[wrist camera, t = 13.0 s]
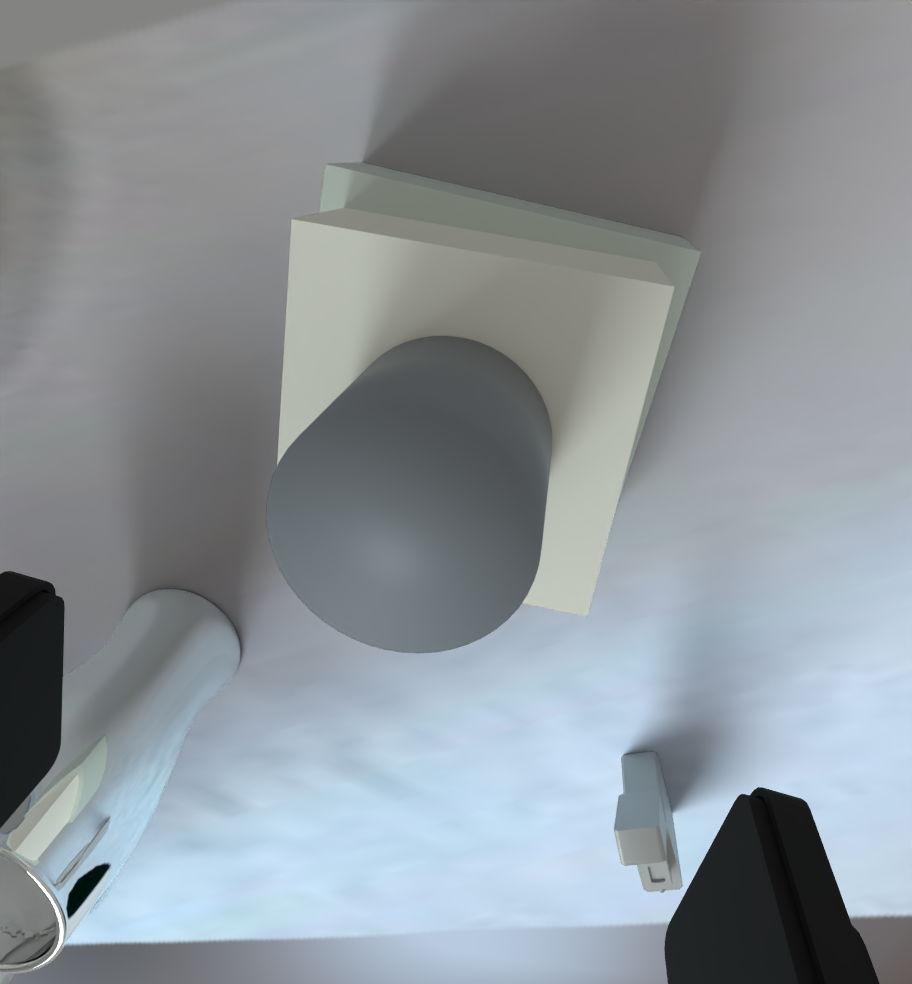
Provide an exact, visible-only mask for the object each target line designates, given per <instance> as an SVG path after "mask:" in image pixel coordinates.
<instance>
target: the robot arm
mask: <svg viewBox="0 0 912 984" xmlns="http://www.w3.org/2000/svg"><path fill="white" fill-rule="evenodd" d="M63 645H64V601H63V599H62V598H61V597H59V596H56V594H55V588H54V586H53V584H51V583H49V582H47V581H43V580H40V579H36V578H33V577H29V576H26V575H22V574H19V573H15V572H12V571H8V572H4V573H2V574H0V828H1V827H2V826H3V825H4V824H5V822H6V821H7V820H8V819H9V818H10V817H11V815H12V814H13V813H14V812H15V811H16V810H17V808H18V807H19V806H20V805H21V804H22V803H23V801H24V800H25V799H26V798H27V797H28V796H29V794H30V793H31V792H32V791H33V790H34V789H35V787H36V786H37V785H38V784H39V783H40V781H41V780H42V779H43V778H44V777H45V776H46V774H47V773H48V772H49V771H50V769H51V768H52V766H53V765H54V763H55V761H56V759H57V756H58V754H59V751H60V747H61V725H62V685H63ZM665 961H666V969H667V978H668V984H879V981H878V978H877V976H876V973H875V970H874V968H873V965H872V962H871V959H870V957H869V954H868V951H867V949H866V946H865V944H864V942H863V940H862V938H861V936H860V934H859V932H858V931H857V930H856V929H855V928H854V927H853V926H852V925H851V922H850V919H849V916H848V913H847V910H846V908H845V905H844V902H843V899H842V897H841V894H840V891H839V888H838V885H837V883H836V880H835V877H834V874H833V872H832V869H831V866H830V863H829V860H828V858H827V855H826V852H825V849H824V847H823V844H822V841H821V838H820V836H819V833H818V830H817V827H816V824H815V822H814V819H813V816H812V813H811V811H810V808H809V806H808V804H807V803H806V802H805V801H804V800H803V799H800V798H797V797H793V796H790V795H786V794H783V793H779V792H776V791H772V790H769V789H765V788H759V787H758V788H757V789H755V790H754V791H753V792H752V793H751V795H750V796H749V795H745V794H741V795H740V796H738V798H737V799H736V800H735V802H734V804H733V806H732V808H731V810H730V811H729V813H728V815H727V817H726V819H725V821H724V823H723V824H722V826H721V828H720V830H719V832H718V834H717V836H716V837H715V839H714V841H713V843H712V845H711V847H710V849H709V850H708V852H707V854H706V856H705V858H704V860H703V862H702V863H701V865H700V867H699V869H698V871H697V873H696V875H695V876H694V878H693V880H692V882H691V884H690V886H689V888H688V889H687V891H686V893H685V895H684V897H683V899H682V901H681V902H680V904H679V906H678V908H677V910H676V912H675V914H674V915H673V917H672V919H671V921H670V923H669V926H668V929H667V932H666V938H665ZM13 975H14V973H0V984H8V982H9V981H10V979H11V978H12V976H13Z"/></svg>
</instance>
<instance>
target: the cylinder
mask: <svg viewBox="0 0 912 984" xmlns="http://www.w3.org/2000/svg"><path fill="white" fill-rule="evenodd" d="M551 456H552V429H551V422H550V418H549V415H548V411H547V408H546V406H545V403H544V401H543V399H542V396H541V395H540V393H539V391H538V390H537V388H536V386H535V384H534V383H533V382H532V381H531V379H530V378H529V377H528V376H527V374H526V373H525V372H524V371H523V370H522V369H521V368H520V367H519V366H518V365H517V364H516V363H515V362H513V361H512V360H511V359H509V358H508V357H507V356H505V355H504V354H502V353H501V352H499V351H497V350H495V349H494V348H492V347H490V346H487V345H485V344H482V343H480V342H477V341H474V340H470V339H466V338H462V337H454V336H430V337H423V338H418V339H414V340H411V341H407V342H405V343H402V344H400V345H398V346H396V347H393V348H392V349H390V350H389V351H387V352H385V353H384V354H382V355H381V356H380V357H379V358H377V359H376V360H375V361H374V362H373V363H371V364H370V365H369V366H368V367H367V368H366V369H365V370H364V371H363V372H362V373H361V374H360V375H359V376H358V377H357V378H356V379H355V380H354V381H353V382H352V383H351V384H350V385H349V386H348V387H347V388H346V389H345V390H344V391H343V392H342V393H341V394H340V395H339V396H338V397H337V398H336V399H335V400H334V401H333V402H332V403H331V404H330V405H329V406H328V407H327V408H326V409H325V410H324V411H323V412H322V413H321V414H320V415H319V416H318V417H317V418H316V419H315V420H314V421H313V422H312V423H311V424H310V425H309V426H308V427H307V428H306V429H305V430H304V431H303V432H302V433H301V434H300V435H299V436H298V437H297V438H296V440H295V441H294V442H293V443H292V444H291V445H290V446H289V447H288V449H287V450H286V452H285V453H284V455H283V457H282V458H281V460H280V461H279V463H278V465H277V468H276V470H275V472H274V474H273V477H272V480H271V484H270V487H269V491H268V498H267V506H266V523H267V530H268V537H269V541H270V545H271V548H272V552H273V555H274V558H275V560H276V562H277V564H278V567H279V569H280V571H281V573H282V574H283V576H284V578H285V580H286V581H287V583H288V585H289V586H290V587H291V589H292V590H293V591H294V593H295V594H296V595H297V597H298V598H299V599H300V600H301V601H302V602H303V603H304V604H305V605H306V606H307V607H308V608H309V609H310V610H311V611H312V612H313V613H314V614H315V615H317V616H318V617H319V618H320V619H321V620H322V621H324V622H325V623H327V624H328V625H330V626H331V627H333V628H334V629H336V630H337V631H339V632H341V633H343V634H345V635H347V636H348V637H350V638H352V639H355V640H357V641H360V642H362V643H365V644H367V645H370V646H374V647H377V648H381V649H385V650H390V651H396V652H404V653H432V652H440V651H445V650H451V649H454V648H458V647H461V646H464V645H467V644H470V643H472V642H474V641H476V640H479V639H481V638H483V637H484V636H486V635H488V634H489V633H491V632H493V631H494V630H496V629H497V628H498V627H499V626H501V625H502V624H503V623H504V622H505V621H507V620H508V619H509V618H510V617H511V615H512V614H513V613H514V612H515V611H516V610H517V609H518V608H519V606H520V605H521V603H522V602H523V601H524V599H525V598H526V596H527V595H528V592H529V590H530V588H531V586H532V584H533V582H534V580H535V577H536V573H537V570H538V567H539V563H540V556H541V550H542V541H543V531H544V522H545V512H546V503H547V493H548V484H549V474H550V465H551Z"/></svg>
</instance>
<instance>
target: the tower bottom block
mask: <svg viewBox="0 0 912 984" xmlns="http://www.w3.org/2000/svg"><path fill="white" fill-rule="evenodd" d="M339 208H349V209H355V210H361V211H366V212H372V213H378V214H384V215H389V216H395V217H401V218H406V219H412V220H418V221H424V222H429V223H435V224H441V225H447V226H452V227H458V228H464V229H469V230H475V231H481V232H487V233H492V234H498V235H504V236H510V237H515V238H521V239H527V240H532V241H538V242H544V243H550V244H555V245H561V246H567V247H573V248H578V249H584V250H590V251H596V252H601V253H607V254H613V255H618V256H624V257H630V258H636V259H641V260H647V261H653V262H656V263H657V264H658V266H659V267H660V268H661V270H662V271H663V272H664V273H665V275H666V276H667V277H668V279H669V280H670V281H671V283H672V284H673V285H674V286H675V287H674V291H673V295H672V299H671V302H670V306H669V310H668V314H667V318H666V321H665V325H664V329H663V333H662V336H661V340H660V344H659V348H658V352H657V355H656V359H655V363H654V367H653V370H652V374H651V378H650V382H649V386H648V389H647V393H646V397H645V401H644V405H643V408H642V412H641V416H640V420H639V423H638V427H637V431H636V435H635V439H634V442H633V446H632V450H631V454H630V457H629V461H628V465H627V469H626V473H625V476H624V480H623V484H622V488H621V491H620V495H619V499H618V503H619V500H620V497H621V494H622V491H623V488H624V485H625V482H626V479H627V476H628V472H629V469H630V466H631V463H632V460H633V457H634V454H635V451H636V448H637V445H638V442H639V439H640V436H641V433H642V430H643V427H644V424H645V421H646V418H647V415H648V412H649V409H650V406H651V403H652V400H653V397H654V394H655V391H656V388H657V385H658V382H659V379H660V376H661V373H662V370H663V367H664V364H665V361H666V358H667V355H668V352H669V349H670V346H671V343H672V340H673V337H674V334H675V331H676V328H677V325H678V322H679V319H680V316H681V312H682V309H683V306H684V303H685V300H686V297H687V294H688V291H689V288H690V285H691V282H692V279H693V276H694V273H695V270H696V267H697V264H698V261H699V258H700V255H701V251H700V250H699V249H697V248H696V247H695V246H693V245H692V244H691V243H689V242H688V241H687V240H685V239H684V238H683V237H680V236H675V235H671V234H667V233H662V232H658V231H654V230H650V229H645V228H641V227H637V226H632V225H628V224H624V223H620V222H615V221H611V220H607V219H602V218H598V217H594V216H590V215H585V214H581V213H577V212H572V211H568V210H564V209H560V208H555V207H551V206H547V205H542V204H538V203H534V202H529V201H525V200H521V199H517V198H512V197H508V196H504V195H499V194H495V193H491V192H487V191H482V190H478V189H474V188H469V187H465V186H461V185H457V184H452V183H448V182H444V181H439V180H435V179H431V178H427V177H422V176H418V175H414V174H409V173H405V172H401V171H397V170H392V169H388V168H384V167H379V166H375V165H371V164H367V163H336V164H325V170H324V178H323V186H322V194H321V202H320V210H319V213H321V212H326V211H330V210H335V209H339ZM618 503H617V506H618ZM616 509H617V507H616ZM615 512H616V510H615ZM614 515H615V514H614Z"/></svg>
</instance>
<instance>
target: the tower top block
mask: <svg viewBox="0 0 912 984" xmlns="http://www.w3.org/2000/svg"><path fill="white" fill-rule="evenodd" d="M674 287H675V286H674V285H673V284H672V283H671V281H670V280H669V279H668V277H667V276H666V275H665V273H664V272H663V271H662V270H661V268H660V267H659V266H658V264H657V263H656V262H653V261H647V260H641V259H636V258H630V257H624V256H618V255H613V254H607V253H601V252H596V251H590V250H584V249H578V248H573V247H567V246H561V245H555V244H550V243H544V242H538V241H532V240H527V239H521V238H515V237H510V236H504V235H498V234H492V233H487V232H481V231H475V230H469V229H464V228H458V227H452V226H447V225H441V224H435V223H429V222H424V221H418V220H412V219H406V218H401V217H395V216H389V215H384V214H378V213H372V212H366V211H361V210H355V209H349V208H339V209H335V210H330V211H326V212H321V213H317V214H312V215H308V216H303V217H299V218H294V219H292V222H291V239H290V255H289V272H288V289H287V306H286V323H285V340H284V357H283V374H282V391H281V407H280V424H279V441H278V458H277V465H278V463H279V461H280V460H281V458H282V457H283V455H284V453H285V452H286V450H287V449H288V447H289V446H290V445H291V444H292V443H293V442H294V441H295V440H296V438H297V437H298V436H299V435H300V434H301V433H302V432H303V431H304V430H305V429H306V428H307V427H308V426H309V425H310V424H311V423H312V422H313V421H314V420H315V419H316V418H317V417H318V416H319V415H320V414H321V413H322V412H323V411H324V410H325V409H326V408H327V407H328V406H329V405H330V404H331V403H332V402H333V401H334V400H335V399H336V398H337V397H338V396H339V395H340V394H341V393H342V392H343V391H344V390H345V389H346V388H347V387H348V386H349V385H350V384H351V383H352V382H353V381H354V380H355V379H356V378H357V377H358V376H359V375H360V374H361V373H362V372H363V371H364V370H365V369H366V368H367V367H368V366H369V365H370V364H371V363H373V362H374V361H375V360H376V359H377V358H379V357H380V356H381V355H382V354H384V353H385V352H387V351H389V350H390V349H392V348H393V347H396V346H398V345H400V344H402V343H405V342H407V341H411V340H414V339H418V338H423V337H430V336H454V337H462V338H466V339H470V340H474V341H477V342H480V343H482V344H485V345H487V346H490V347H492V348H494V349H495V350H497V351H499V352H501V353H502V354H504V355H505V356H507V357H508V358H509V359H511V360H512V361H513V362H515V363H516V364H517V365H518V366H519V367H520V368H521V369H522V370H523V371H524V372H525V373H526V374H527V376H528V377H529V378H530V379H531V381H532V382H533V383H534V384H535V386H536V388H537V390H538V391H539V393H540V395H541V396H542V399H543V401H544V403H545V406H546V408H547V411H548V415H549V418H550V422H551V429H552V456H551V465H550V474H549V484H548V493H547V503H546V512H545V522H544V531H543V541H542V550H541V556H540V563H539V567H538V570H537V573H536V577H535V580H534V582H533V584H532V586H531V588H530V590H529V592H528V595H527V596H526V598H525V599H524V601H523V602H522V603H523V604H528V605H533V606H538V607H542V608H547V609H552V610H557V611H562V612H567V613H571V614H576V615H581V616H586V617H587V616H588V612H589V609H590V605H591V601H592V597H593V594H594V590H595V586H596V582H597V578H598V575H599V571H600V567H601V563H602V559H603V556H604V552H605V548H606V544H607V541H608V537H609V533H610V529H611V525H612V522H613V518H614V514H615V510H616V507H617V503H618V499H619V495H620V491H621V488H622V484H623V480H624V476H625V473H626V469H627V465H628V461H629V457H630V454H631V450H632V446H633V442H634V439H635V435H636V431H637V427H638V423H639V420H640V416H641V412H642V408H643V405H644V401H645V397H646V393H647V389H648V386H649V382H650V378H651V374H652V370H653V367H654V363H655V359H656V355H657V352H658V348H659V344H660V340H661V336H662V333H663V329H664V325H665V321H666V318H667V314H668V310H669V306H670V302H671V299H672V295H673V291H674Z"/></svg>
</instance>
